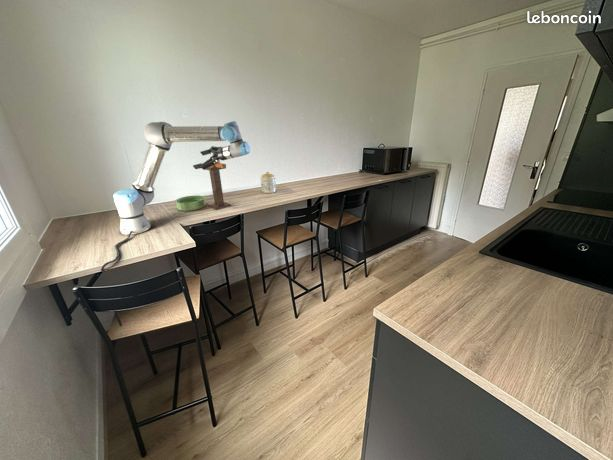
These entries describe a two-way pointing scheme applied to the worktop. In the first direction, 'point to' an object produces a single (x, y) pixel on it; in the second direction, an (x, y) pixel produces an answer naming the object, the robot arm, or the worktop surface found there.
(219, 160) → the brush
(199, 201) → the bowl
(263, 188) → the jar
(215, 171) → the stand
